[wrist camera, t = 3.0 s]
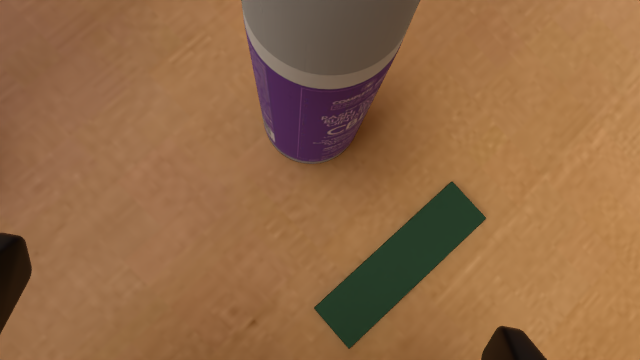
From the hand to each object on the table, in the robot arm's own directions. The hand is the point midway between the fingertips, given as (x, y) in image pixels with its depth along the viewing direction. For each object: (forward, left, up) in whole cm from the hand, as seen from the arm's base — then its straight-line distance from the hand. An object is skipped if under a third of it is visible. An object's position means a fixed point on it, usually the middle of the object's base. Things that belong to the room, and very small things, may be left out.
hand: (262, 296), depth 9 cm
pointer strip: (-1, -6, -13) cm, 15 cm away
